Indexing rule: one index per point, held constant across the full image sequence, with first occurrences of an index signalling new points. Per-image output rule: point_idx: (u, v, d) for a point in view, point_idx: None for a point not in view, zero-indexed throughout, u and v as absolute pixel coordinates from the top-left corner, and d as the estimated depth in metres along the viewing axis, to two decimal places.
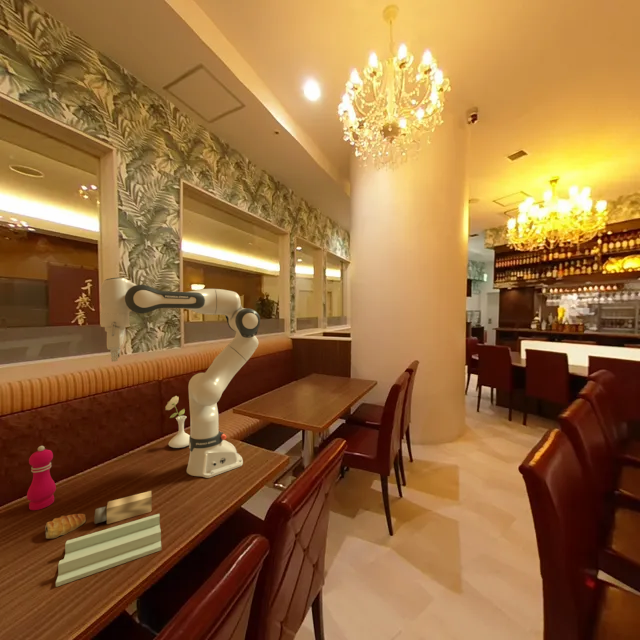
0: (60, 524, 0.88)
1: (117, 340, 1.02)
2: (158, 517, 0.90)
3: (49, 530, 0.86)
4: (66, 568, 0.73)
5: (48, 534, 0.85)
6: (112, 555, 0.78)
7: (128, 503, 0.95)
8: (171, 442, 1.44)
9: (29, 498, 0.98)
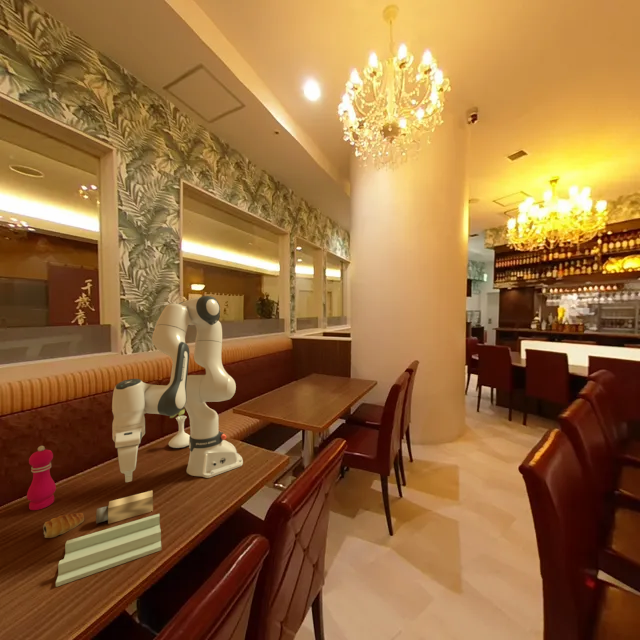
0: (59, 524, 0.88)
1: None
2: (158, 517, 0.90)
3: (48, 529, 0.86)
4: (66, 568, 0.73)
5: (47, 533, 0.86)
6: (112, 555, 0.78)
7: (130, 503, 0.95)
8: (171, 442, 1.44)
9: (29, 498, 0.98)
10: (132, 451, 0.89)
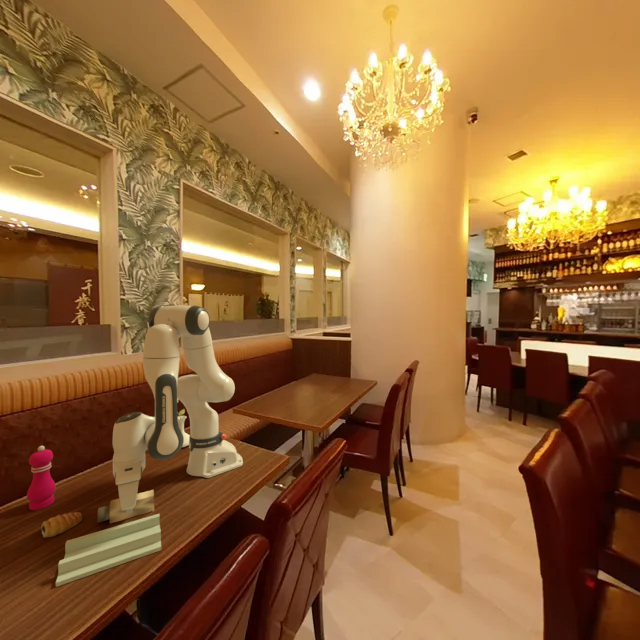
0: (57, 523, 0.88)
1: None
2: (158, 517, 0.90)
3: (47, 529, 0.86)
4: (66, 568, 0.73)
5: (46, 533, 0.86)
6: (112, 555, 0.78)
7: None
8: None
9: (29, 498, 0.98)
10: (133, 488, 0.89)
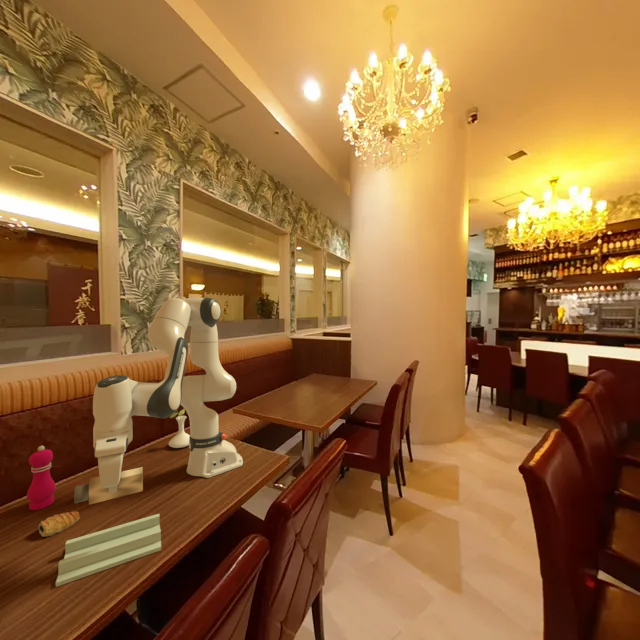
0: (56, 522, 0.89)
1: None
2: (158, 517, 0.90)
3: (45, 528, 0.87)
4: (66, 568, 0.73)
5: (44, 532, 0.86)
6: (112, 555, 0.78)
7: None
8: (171, 442, 1.44)
9: (29, 498, 0.98)
10: (116, 462, 0.74)
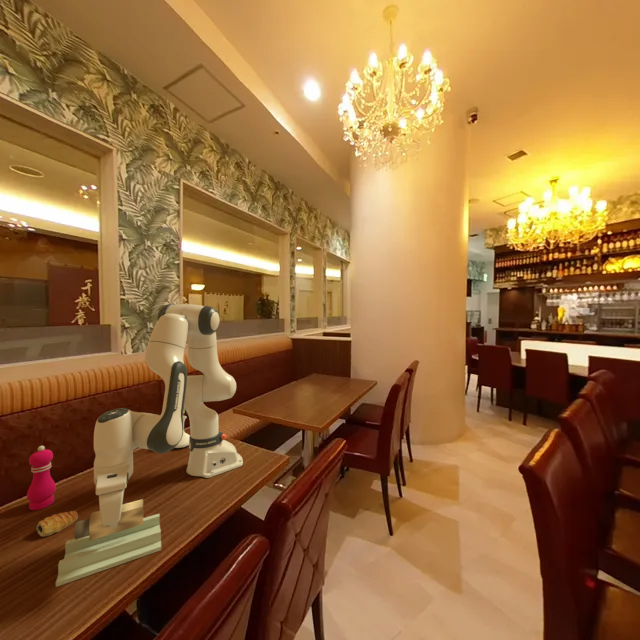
0: (54, 522, 0.89)
1: None
2: (158, 517, 0.90)
3: (44, 528, 0.87)
4: (66, 568, 0.73)
5: (43, 532, 0.86)
6: (112, 555, 0.78)
7: None
8: None
9: (29, 498, 0.98)
10: (117, 499, 0.74)
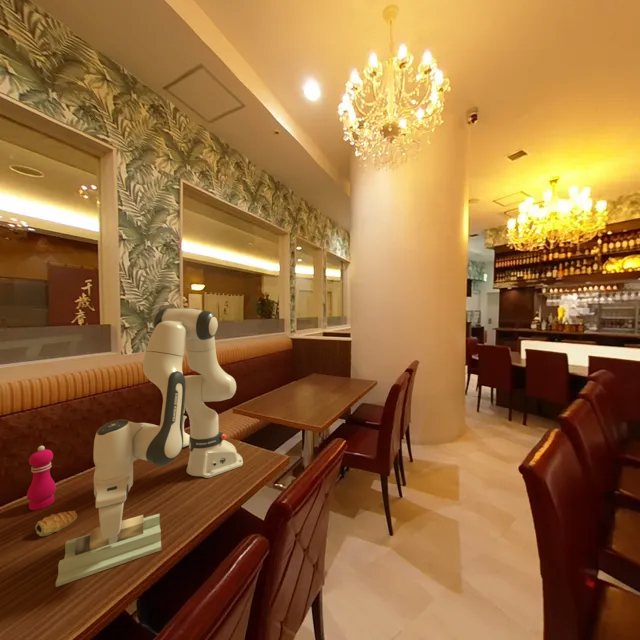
0: (53, 522, 0.89)
1: None
2: (158, 517, 0.90)
3: (43, 528, 0.87)
4: (66, 568, 0.73)
5: (42, 532, 0.86)
6: (112, 555, 0.78)
7: None
8: None
9: (29, 498, 0.98)
10: (116, 512, 0.74)
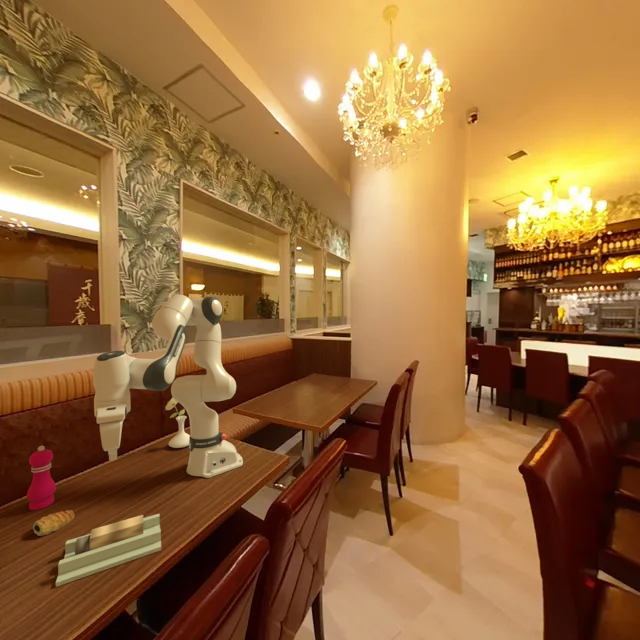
0: (52, 521, 0.89)
1: None
2: (158, 517, 0.90)
3: (41, 527, 0.87)
4: (66, 568, 0.73)
5: (41, 531, 0.87)
6: (112, 555, 0.78)
7: (116, 532, 0.81)
8: (171, 442, 1.44)
9: (29, 498, 0.98)
10: (116, 428, 0.81)
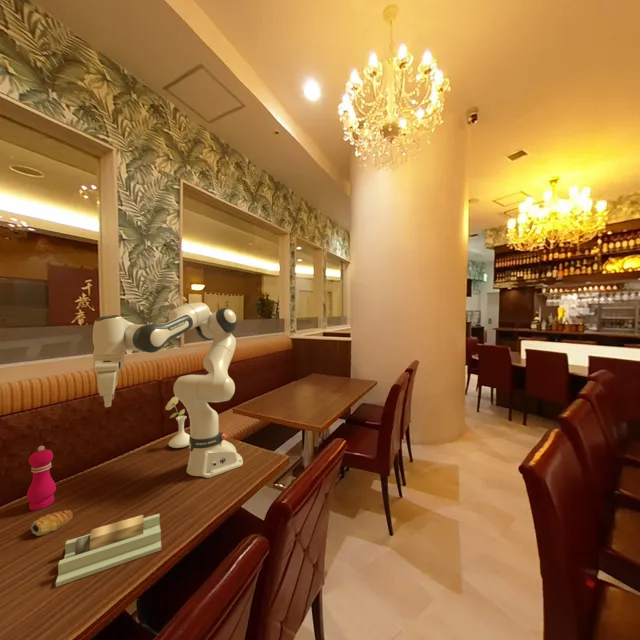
0: (50, 521, 0.89)
1: None
2: (158, 517, 0.90)
3: (40, 527, 0.87)
4: (66, 568, 0.73)
5: (40, 531, 0.87)
6: (112, 555, 0.78)
7: (116, 532, 0.81)
8: (171, 442, 1.44)
9: (29, 498, 0.98)
10: (110, 376, 0.95)
